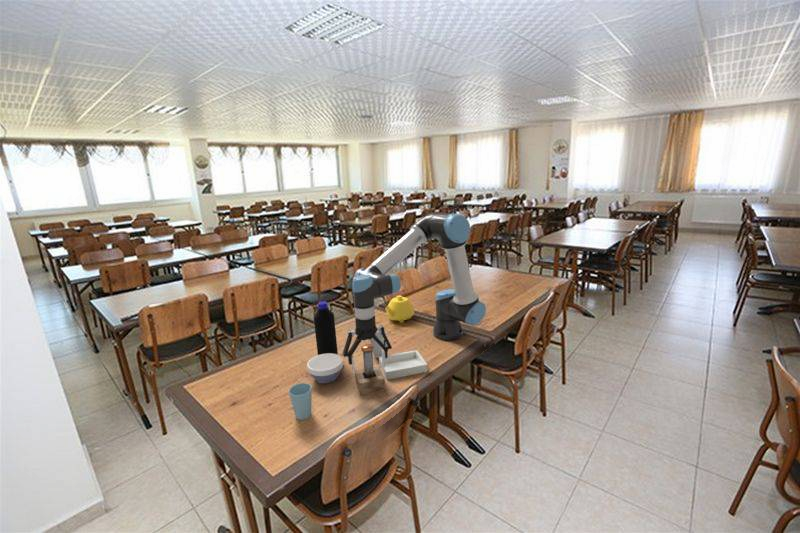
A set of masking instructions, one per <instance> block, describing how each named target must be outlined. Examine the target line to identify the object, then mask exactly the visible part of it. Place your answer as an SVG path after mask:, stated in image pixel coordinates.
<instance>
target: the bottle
mask: <svg viewBox="0 0 800 533" xmlns="http://www.w3.org/2000/svg"><path fill="white" fill-rule="evenodd" d="M328 305H329V304H328V302H327V301H324V300H323V301H318V302H317V311H316V312H315V313H314V314H313V325H314V331H315V332H314V333H315V342H316V352H317V355H321V354H327V353H332V354H337V355H339V352H338V341H337V333H336V332H337V331H336V321H335V313H334V312H332V311H331V310H330V309H329V306H328Z"/></svg>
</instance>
